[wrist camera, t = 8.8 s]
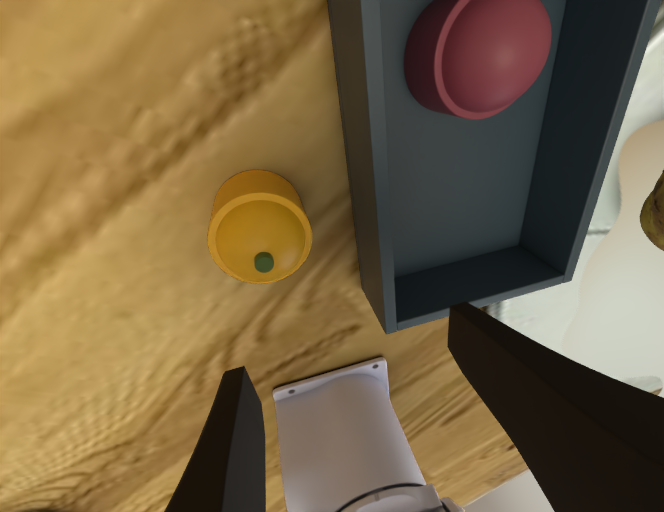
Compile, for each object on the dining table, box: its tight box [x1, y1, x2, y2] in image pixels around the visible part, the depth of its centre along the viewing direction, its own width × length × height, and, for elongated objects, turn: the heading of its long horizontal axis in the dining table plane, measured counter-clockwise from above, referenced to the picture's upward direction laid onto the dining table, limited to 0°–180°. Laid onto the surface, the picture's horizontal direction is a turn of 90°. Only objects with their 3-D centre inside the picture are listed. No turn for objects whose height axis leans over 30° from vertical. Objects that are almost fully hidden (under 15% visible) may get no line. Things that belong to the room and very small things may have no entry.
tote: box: [327, 0, 662, 334], centre depth 17 cm, size 12×17×5 cm
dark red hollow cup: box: [404, 0, 552, 120], centre depth 14 cm, size 5×5×5 cm
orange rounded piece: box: [207, 170, 312, 284], centre depth 16 cm, size 5×5×6 cm
